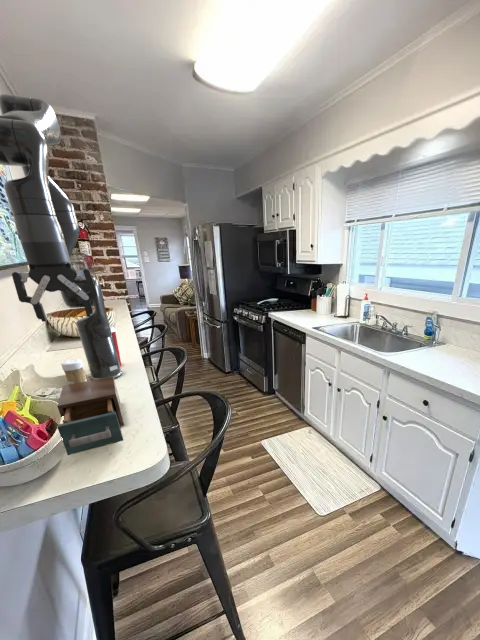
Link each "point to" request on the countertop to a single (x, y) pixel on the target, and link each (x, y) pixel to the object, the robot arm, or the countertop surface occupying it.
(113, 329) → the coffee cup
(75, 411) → the drawer
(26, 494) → the countertop surface
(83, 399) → the cabinet
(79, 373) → the sprinkles bottle
